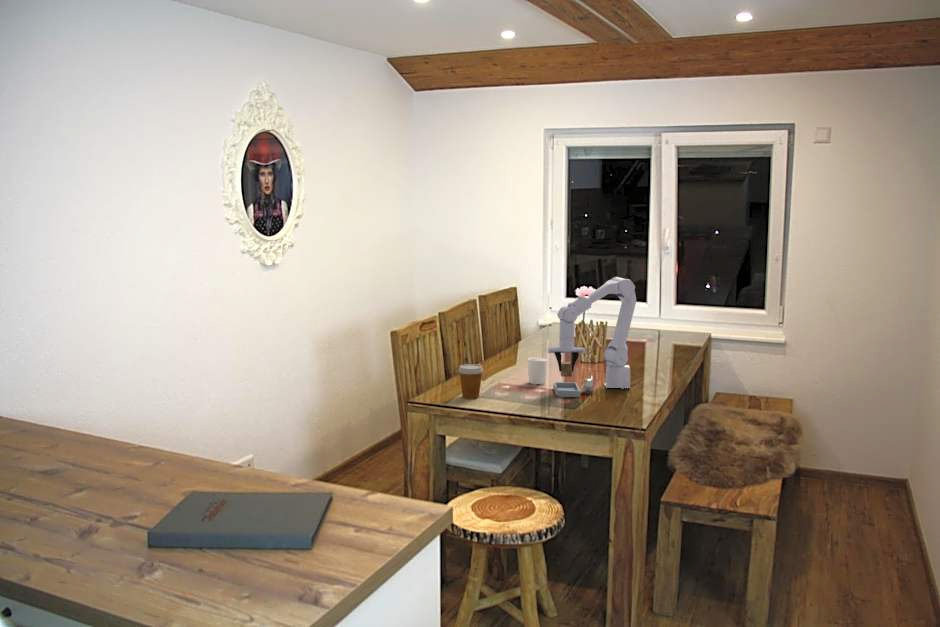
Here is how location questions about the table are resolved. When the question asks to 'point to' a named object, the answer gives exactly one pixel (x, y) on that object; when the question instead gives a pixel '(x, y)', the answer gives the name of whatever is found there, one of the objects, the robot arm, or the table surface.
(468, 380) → the disposable coffee cup
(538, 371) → the white cup
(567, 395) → the parts tray
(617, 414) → the table surface
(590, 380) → the metal cylinder
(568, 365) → the walnut block
